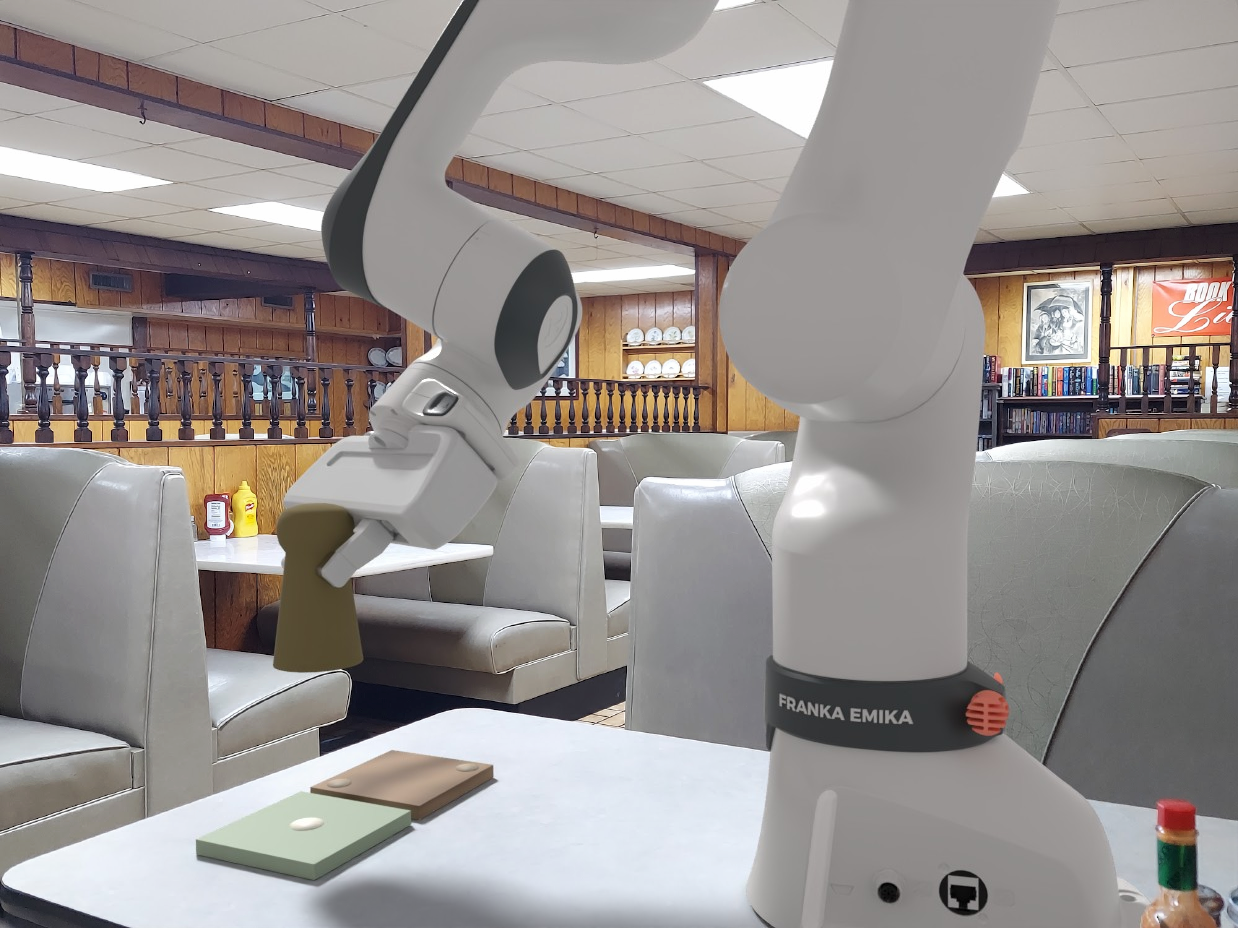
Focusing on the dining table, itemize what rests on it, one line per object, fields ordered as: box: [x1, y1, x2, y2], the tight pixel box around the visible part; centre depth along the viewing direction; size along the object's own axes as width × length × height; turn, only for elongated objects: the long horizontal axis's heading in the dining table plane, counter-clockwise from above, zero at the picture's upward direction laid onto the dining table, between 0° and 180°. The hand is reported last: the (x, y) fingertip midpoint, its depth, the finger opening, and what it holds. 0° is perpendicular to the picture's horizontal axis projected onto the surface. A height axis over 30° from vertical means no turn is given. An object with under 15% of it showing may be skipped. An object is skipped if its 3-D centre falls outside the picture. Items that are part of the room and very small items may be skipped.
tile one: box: [195, 790, 412, 881], centre depth 72 cm, size 10×10×1 cm
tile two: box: [309, 749, 495, 821], centre depth 82 cm, size 10×10×1 cm
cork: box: [272, 503, 364, 674], centre depth 72 cm, size 6×6×11 cm
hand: (308, 576), depth 72 cm, fingers closed on cork, 4 cm apart
